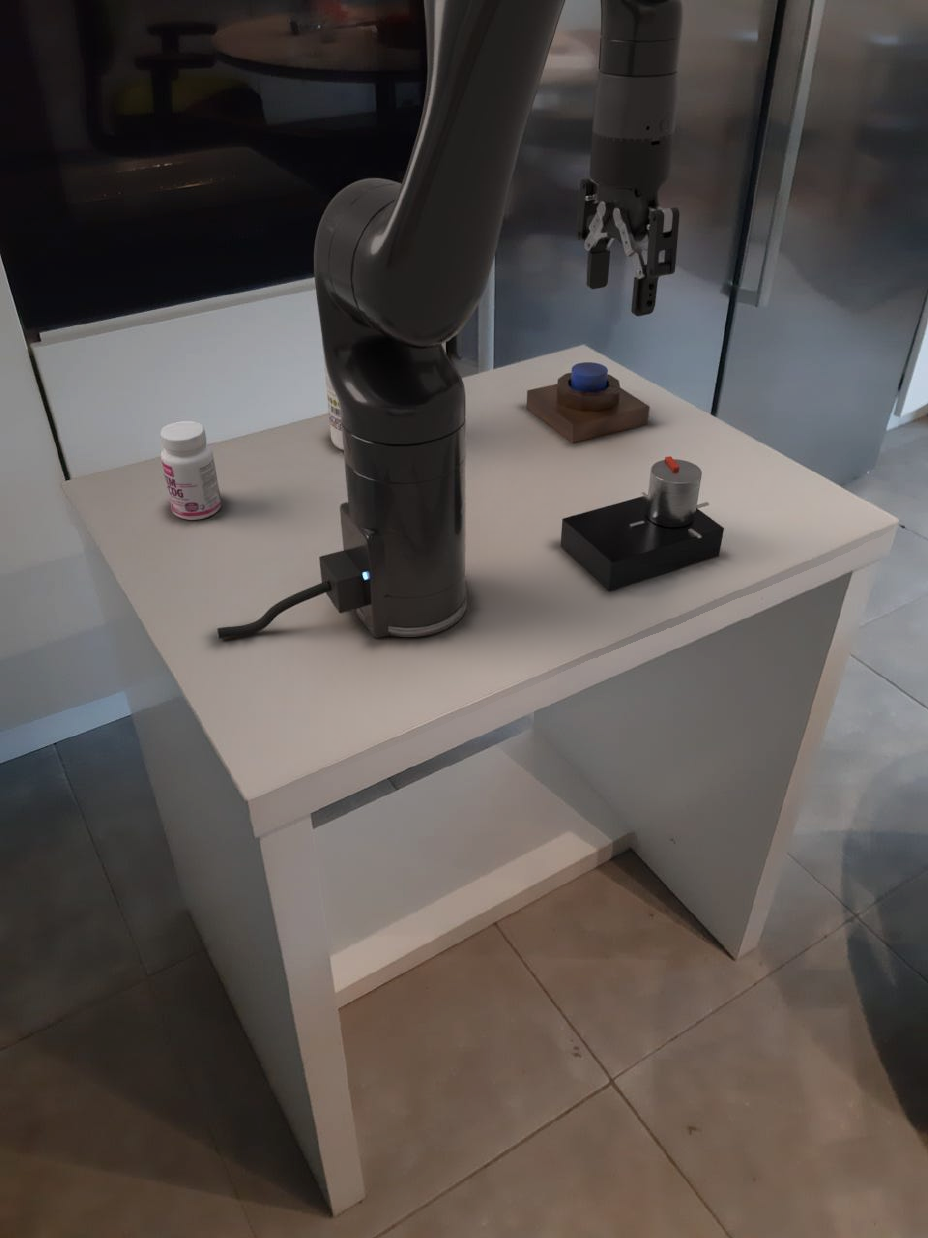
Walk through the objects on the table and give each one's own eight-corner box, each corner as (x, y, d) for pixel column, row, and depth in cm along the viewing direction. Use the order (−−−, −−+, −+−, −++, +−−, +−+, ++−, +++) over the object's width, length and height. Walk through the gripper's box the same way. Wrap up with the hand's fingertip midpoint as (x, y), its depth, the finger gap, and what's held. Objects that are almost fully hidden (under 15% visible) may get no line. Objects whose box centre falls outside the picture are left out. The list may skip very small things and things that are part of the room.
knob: (702, 524, 87) (710, 477, 85) (655, 530, 87) (662, 482, 84) (683, 500, 91) (691, 453, 88) (638, 505, 90) (644, 458, 87)
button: (583, 396, 108) (584, 378, 106) (563, 383, 111) (564, 365, 109) (613, 389, 109) (615, 372, 108) (593, 376, 112) (595, 359, 111)
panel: (610, 593, 84) (614, 562, 82) (558, 544, 90) (560, 515, 89) (732, 554, 89) (738, 524, 87) (675, 510, 95) (679, 482, 93)
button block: (572, 443, 107) (574, 409, 104) (526, 407, 114) (527, 375, 111) (647, 424, 110) (651, 391, 108) (598, 391, 117) (601, 359, 115)
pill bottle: (162, 516, 94) (145, 437, 89) (188, 493, 98) (173, 415, 93) (206, 524, 93) (191, 444, 88) (230, 500, 97) (217, 422, 92)
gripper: (559, 115, 94) (552, 285, 104) (642, 146, 84) (625, 330, 94) (625, 107, 96) (612, 273, 106) (714, 136, 86) (690, 317, 96)
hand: (618, 300), depth 100 cm, fingers open, 8 cm apart
